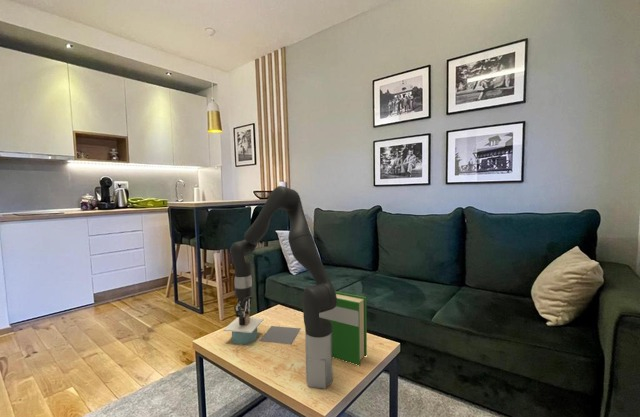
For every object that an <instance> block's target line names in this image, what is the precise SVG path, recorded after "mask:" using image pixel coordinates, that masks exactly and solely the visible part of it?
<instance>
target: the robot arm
mask: <svg viewBox="0 0 640 417" xmlns="http://www.w3.org/2000/svg"><path fill="white" fill-rule="evenodd" d="M278 210H281V211H282V210H283V211H284V212H286V213H287V216H288V219H289V222H290V226H289V227H290V228H289V231H288V238H287V239H288V244H289V247H290V251H291V253H292V256H293V258H294V259H295V260H296V261H297V262H298V263H299V264H300V266H302V267H303V268H304V269H305V270H306V271H308V272H309V274H310V275H311V276H312V279H313V280H314V282H315V285H312V286H306V287H305V288H304V289H303V292H302V295H301V296H302V298H301V299H302V300H301V301H302V311H303V312H302V314H303V323H304V330H305V331H304V333H305V374H306V375H305V377H306V378H305V381H306V383H307V387H308V388H316V389H325V390H326V389H327V387H329V386H330V384H332V382H333V379H334V378H333V376H334V375H333V373H334V372H333V371H334V370H333V357H332V324H331V322H330V321H329V320H327V319H324V318H319V313H322V312H325V311H328V310H332V309H334V308H335V307H336V305H337V297H336V293H335V291H336V290H335V288H334V285H333V284H332V281H331V279H330V277H329V274H328V273H327V271H326V269H325V267H324V265H323V264H324V263H323V261H322V260H321V257H320V254H319V252H318V249H317V246H316V242H315V239H314V237H313V235H312V233H311V230H310V227H309V225H308V221H307V219H306V215H305V213H304V207H303V204H302V201H301V197H300V195H299V193H298V192H297V191H296V190H295V189H292V188H289V187H287V186H284V185H278V186H277V187H275V188H274V189H273V190H272V191H271V192H270V195H269V196H268V197H267V199H266V202H265V203H264V205H263V206H262V209H261V210H260V212H259V214H258V216H257V217H256V218H255V220H254V221H253V223H252V224H251V225H250V226H249V228H248V229H246V231H245V232H244V235H243V236H244V239H243V240H238V241H235V242H233V243H232V245H230V251H229V252H230V256H231V259H232V264H233V266H234V296H235V298H237V302H236V303H237V305H234V307H233V308H234V312H235V317H236V318H237V317H239V319H240V325H245V314H250V311H251V310H252V306H253V299H254V298H253V296H252V295H253V279H252V264H251V262H250V261H246V259H245V257H246V256H250V255H251V254H252V253H253V252H254V251H255V250H256V249H257V246H258V244H259V242H260V241H261V240H262V239H263V237H265V235H266V234H267V233H268V231H269V228H270V222H271V219H272V217H273V215H274V213H275V212H277V211H278ZM242 313H243V314H242Z"/></svg>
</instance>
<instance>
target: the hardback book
mask: <svg viewBox="0 0 640 417" xmlns="http://www.w3.org/2000/svg"><path fill="white" fill-rule="evenodd" d="M335 293H336V297H337V305H336V307H335V308H334V309H332V310H328V311H325V312H322V313H319V318H324V319H327V320H329V321H330V322H331V324H332V358H333V357H334V358H333V359H336V358H337V359H336V360H339V359H340V360H339V361H342V360H344V361H343V362H345V361H347V362H346V363H348V362H351V363H354V364H357V365H359V364H360V365H361V361H362V359H363V358H365V357H364V356H366V355H367V354H368V352H367V351H368V346H367V345H368V344H367V342H368V339H367V333H368V332H367V329H368V328H367V297H366V296H362V295H356V294H352V293H346V292H341V291H336V290H335ZM367 356H368V355H367ZM351 363H350V364H351ZM354 364H353V365H354ZM357 365H356V366H357ZM360 365H359V366H360Z"/></svg>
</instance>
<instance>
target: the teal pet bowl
mask: <svg viewBox="0 0 640 417" xmlns="http://www.w3.org/2000/svg"><path fill="white" fill-rule="evenodd" d="M257 339H258V327H257V328H256V329H255V330H254V331H253V332H252V333H244V332H233V331H231V342H232V343H233V344H235V345H242V346H243V345H248V344H251V343H254V342H255V341H256V340H257Z"/></svg>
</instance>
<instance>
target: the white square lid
mask: <svg viewBox="0 0 640 417" xmlns="http://www.w3.org/2000/svg"><path fill="white" fill-rule="evenodd" d="M242 314H243V312H242ZM263 322H264V318H260V317H259V318H258V317H250V313H249V314H245V325H240V319H239V317H236V318H234V320H232V322H230V323H229V324H228V325H227V326H226V327H224V328H223V331H224V332H232V331H233V332H244V333H252V332H253V331H254V330H255V329H256V328H257V329H258V327H259V326H260V325H261V323H263Z"/></svg>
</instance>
